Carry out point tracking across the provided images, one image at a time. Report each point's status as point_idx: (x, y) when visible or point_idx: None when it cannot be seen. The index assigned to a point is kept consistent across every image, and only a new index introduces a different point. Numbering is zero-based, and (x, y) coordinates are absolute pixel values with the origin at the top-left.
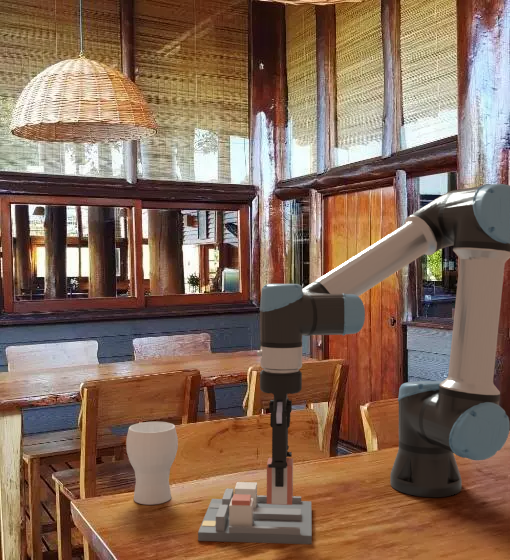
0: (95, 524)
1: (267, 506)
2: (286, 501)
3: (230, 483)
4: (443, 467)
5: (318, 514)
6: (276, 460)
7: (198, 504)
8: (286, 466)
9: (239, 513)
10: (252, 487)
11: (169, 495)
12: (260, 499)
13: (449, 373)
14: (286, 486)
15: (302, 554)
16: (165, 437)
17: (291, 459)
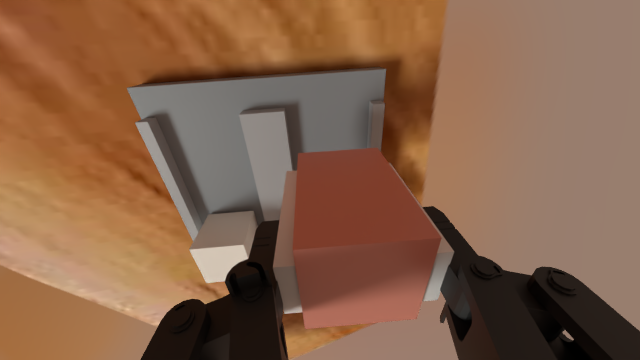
0: (324, 342)
1: (219, 191)
2: (392, 168)
3: (86, 267)
4: None
5: (173, 59)
6: (556, 336)
7: (221, 283)
8: (480, 261)
9: None
10: (233, 252)
11: None
12: (193, 212)
13: None
14: (412, 195)
15: (431, 85)
16: None
17: (318, 254)
